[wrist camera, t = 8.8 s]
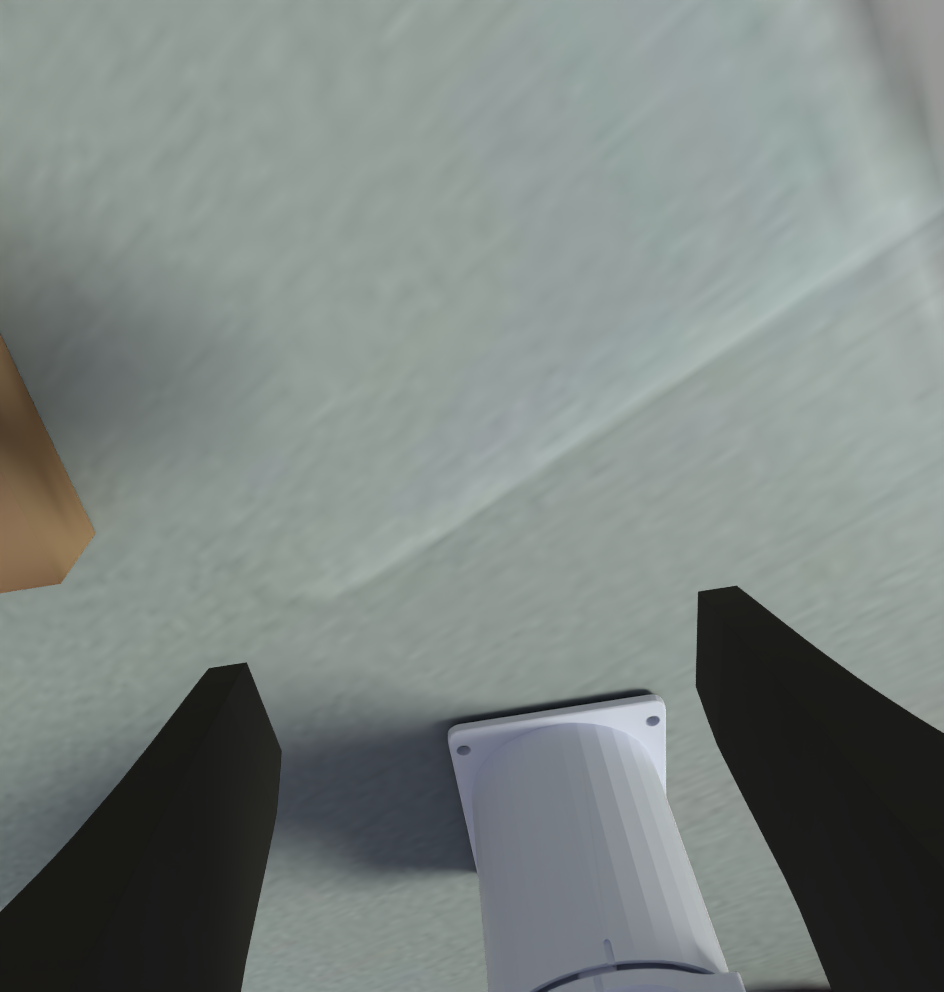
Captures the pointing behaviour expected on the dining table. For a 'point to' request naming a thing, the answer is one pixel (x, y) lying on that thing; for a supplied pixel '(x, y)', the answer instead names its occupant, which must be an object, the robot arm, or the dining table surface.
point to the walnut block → (33, 494)
